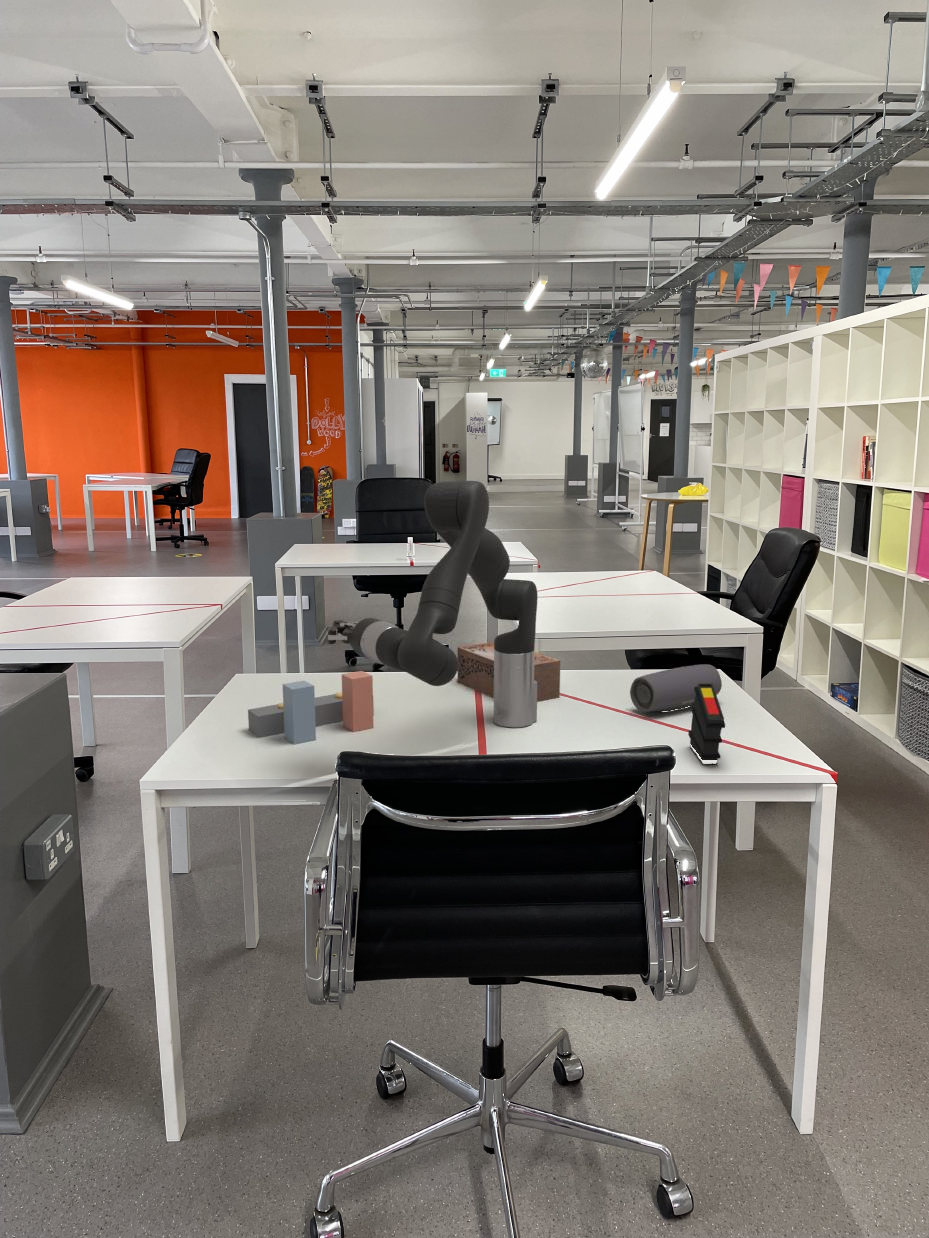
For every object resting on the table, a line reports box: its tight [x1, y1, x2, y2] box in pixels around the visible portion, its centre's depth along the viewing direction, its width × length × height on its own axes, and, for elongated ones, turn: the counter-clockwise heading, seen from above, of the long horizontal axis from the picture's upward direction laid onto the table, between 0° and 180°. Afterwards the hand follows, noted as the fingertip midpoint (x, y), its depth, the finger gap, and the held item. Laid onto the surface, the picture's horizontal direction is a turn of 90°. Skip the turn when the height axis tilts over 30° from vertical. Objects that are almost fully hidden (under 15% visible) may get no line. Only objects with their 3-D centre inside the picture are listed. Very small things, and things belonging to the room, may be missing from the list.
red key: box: [341, 670, 375, 733], centre depth 198 cm, size 5×5×12 cm
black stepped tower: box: [688, 683, 726, 761], centre depth 183 cm, size 4×13×15 cm, turn 0°
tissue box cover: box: [457, 641, 561, 703], centre depth 231 cm, size 26×14×10 cm, turn 32°
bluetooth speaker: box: [629, 663, 723, 713], centre depth 216 cm, size 23×9×10 cm, turn 123°
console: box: [247, 692, 375, 739], centre depth 196 cm, size 28×19×7 cm
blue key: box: [282, 680, 317, 745], centre depth 190 cm, size 5×5×12 cm
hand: (336, 625), depth 177 cm, fingers closed
